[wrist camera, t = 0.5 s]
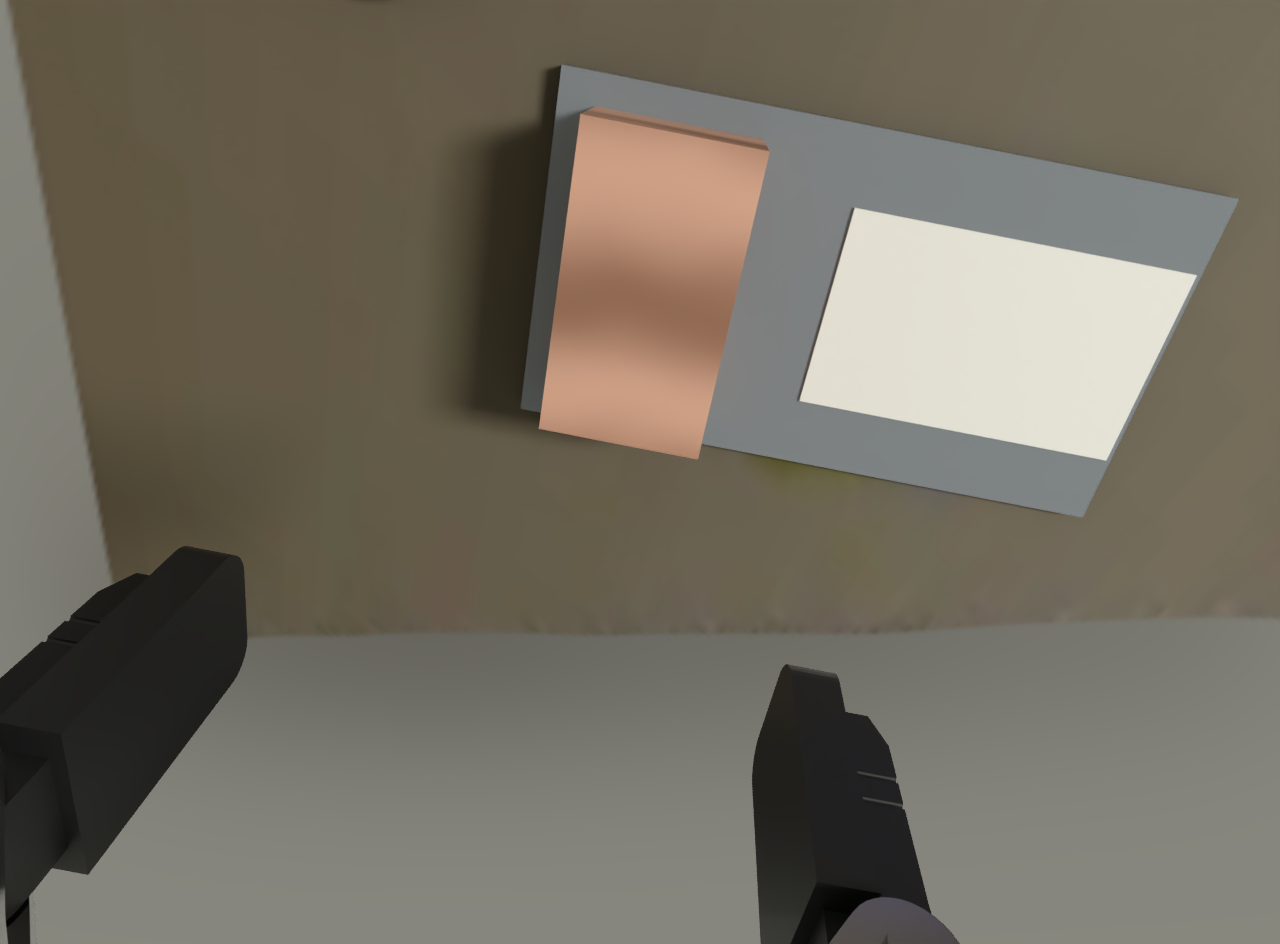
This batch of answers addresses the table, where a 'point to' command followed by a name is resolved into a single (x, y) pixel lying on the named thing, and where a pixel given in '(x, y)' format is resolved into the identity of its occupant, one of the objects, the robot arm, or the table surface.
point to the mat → (921, 298)
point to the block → (648, 278)
